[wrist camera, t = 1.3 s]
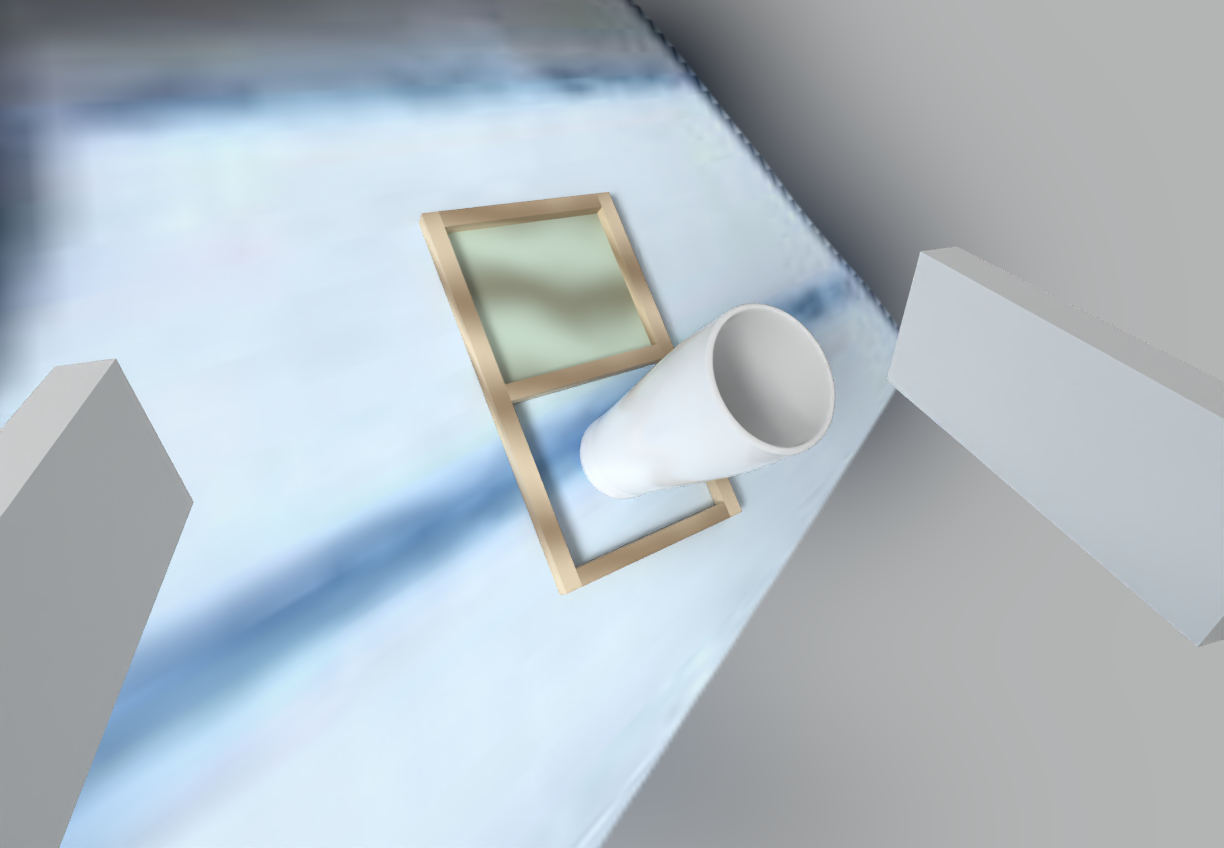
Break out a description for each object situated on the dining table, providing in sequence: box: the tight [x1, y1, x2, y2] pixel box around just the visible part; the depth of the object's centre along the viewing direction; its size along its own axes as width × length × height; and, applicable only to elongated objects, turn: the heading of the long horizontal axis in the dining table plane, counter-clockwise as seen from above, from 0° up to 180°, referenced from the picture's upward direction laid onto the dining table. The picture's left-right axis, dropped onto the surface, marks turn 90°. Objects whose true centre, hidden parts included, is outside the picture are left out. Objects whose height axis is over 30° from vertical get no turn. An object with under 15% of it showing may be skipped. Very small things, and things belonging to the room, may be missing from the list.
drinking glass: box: [580, 303, 835, 500], centre depth 33 cm, size 7×7×15 cm
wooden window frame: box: [419, 192, 742, 595], centre depth 40 cm, size 23×13×1 cm, turn 24°
